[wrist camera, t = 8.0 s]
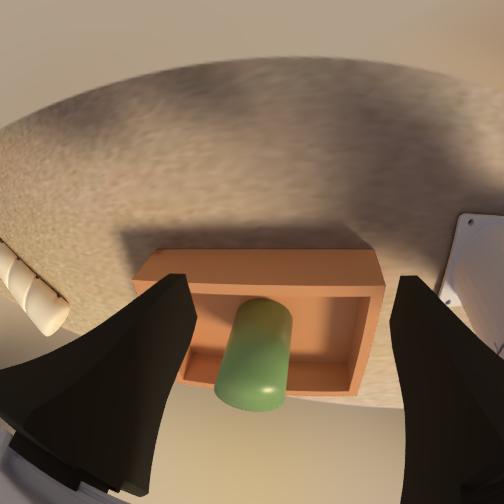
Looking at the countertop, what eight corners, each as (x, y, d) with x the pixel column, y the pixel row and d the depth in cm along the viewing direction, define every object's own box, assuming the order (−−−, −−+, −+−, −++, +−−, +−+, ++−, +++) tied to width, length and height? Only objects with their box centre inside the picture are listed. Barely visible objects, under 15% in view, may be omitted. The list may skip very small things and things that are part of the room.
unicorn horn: (-36, 176, 22) (-62, 191, 18) (76, 301, 29) (53, 330, 25) (-38, 201, 25) (-61, 217, 21) (67, 318, 31) (47, 344, 27)
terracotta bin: (374, 249, 19) (385, 285, 16) (354, 360, 25) (356, 395, 22) (155, 249, 22) (131, 279, 19) (190, 351, 28) (177, 383, 25)
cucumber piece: (291, 298, 21) (283, 378, 16) (293, 339, 24) (285, 413, 18) (231, 297, 22) (206, 372, 16) (240, 337, 25) (221, 408, 19)
